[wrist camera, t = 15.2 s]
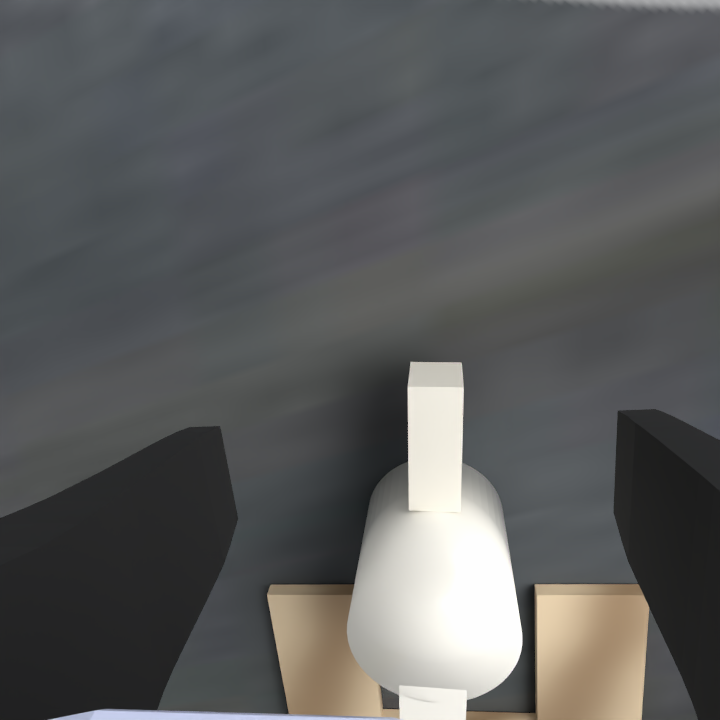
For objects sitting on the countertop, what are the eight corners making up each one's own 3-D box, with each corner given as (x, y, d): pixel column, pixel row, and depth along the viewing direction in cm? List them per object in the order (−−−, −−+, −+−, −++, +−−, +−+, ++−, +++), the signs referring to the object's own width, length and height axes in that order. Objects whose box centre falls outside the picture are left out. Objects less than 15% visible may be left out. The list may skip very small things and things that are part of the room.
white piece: (499, 591, 25) (516, 729, 19) (370, 584, 25) (351, 716, 20) (512, 348, 21) (537, 430, 16) (362, 347, 22) (336, 425, 16)
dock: (644, 583, 24) (649, 595, 23) (631, 781, 27) (636, 795, 27) (270, 584, 26) (266, 594, 25) (304, 768, 29) (301, 780, 29)
